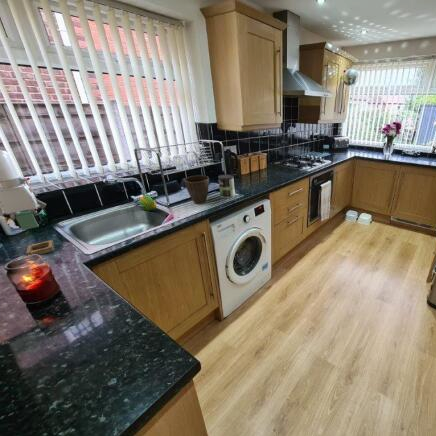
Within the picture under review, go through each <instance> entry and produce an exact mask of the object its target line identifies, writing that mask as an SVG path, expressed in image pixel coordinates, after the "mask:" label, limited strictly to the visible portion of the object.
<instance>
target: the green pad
mask: <svg viewBox="0 0 436 436" xmlns="http://www.w3.org/2000/svg"><path fill="white" fill-rule="evenodd" d="M16 219H17V221H18V223H19V225H20V227H21V228H20V229H21V231H25V230H30V229H34V228H35V229H36V228H39V226H40V224H37V222H36V220H35V218H34V213H33V212H32V211H31V210H26V211H20V212H16Z"/></svg>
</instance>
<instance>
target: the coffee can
mask: <svg viewBox="0 0 436 436" xmlns="http://www.w3.org/2000/svg"><path fill="white" fill-rule="evenodd" d="M234 177H235V176H234V175H233V174H230V173H229V174H228V173H227V174H226V173H225V174H220V175H218V176H217V178H218V186H219V187H218V188H219V194H220V195H219V196H220V198H222V199H231V198H234V197H235V196H236V192H235V191H236V190H235V181H234V180H235V179H234Z"/></svg>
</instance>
